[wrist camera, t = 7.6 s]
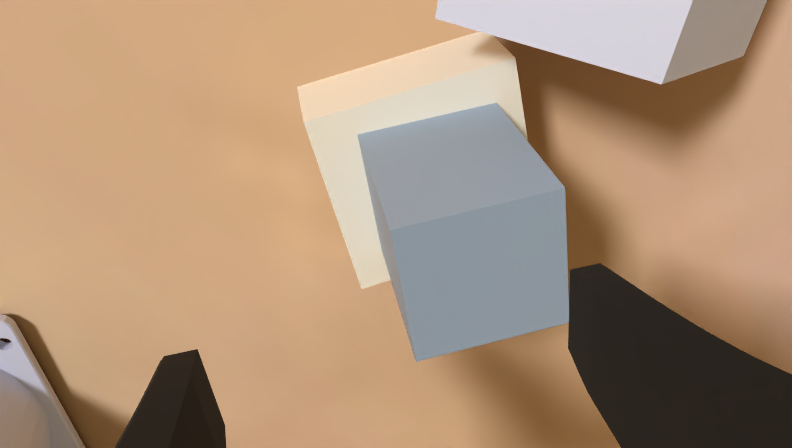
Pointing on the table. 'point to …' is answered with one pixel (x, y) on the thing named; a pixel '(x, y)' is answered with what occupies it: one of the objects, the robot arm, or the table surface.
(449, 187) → the blue block
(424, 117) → the foundation slab
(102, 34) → the table surface
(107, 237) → the table surface
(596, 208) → the table surface
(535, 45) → the wedge on round base
